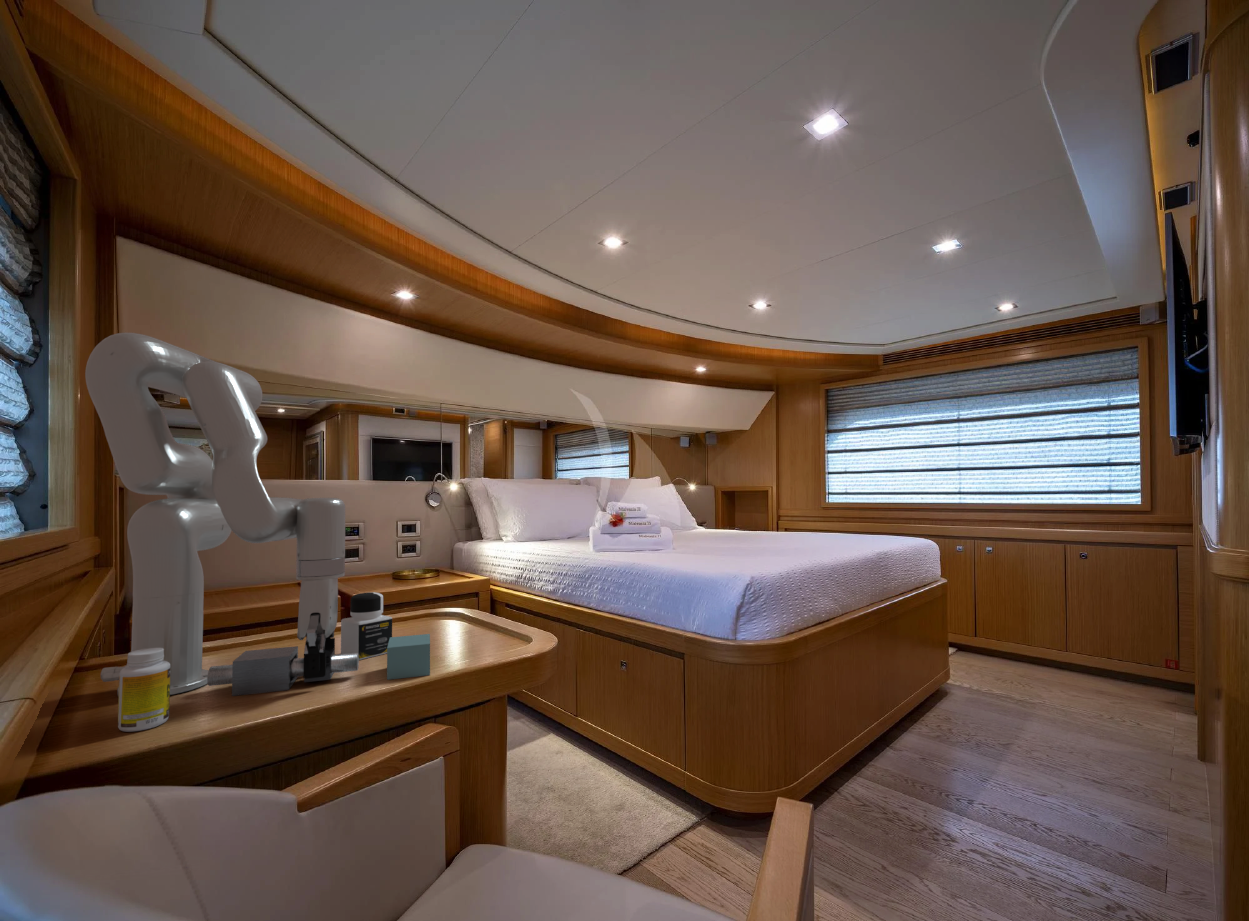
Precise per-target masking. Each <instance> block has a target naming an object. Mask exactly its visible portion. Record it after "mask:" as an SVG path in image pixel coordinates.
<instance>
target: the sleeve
mask: <svg viewBox="0 0 1249 921" xmlns="http://www.w3.org/2000/svg"><path fill="white" fill-rule="evenodd" d="M295 658H299V646H285V647H276V648H274V647H273V648H263V649H254V650H245V651H244V652H242V653H241V654H240V655H239V656H238V657H236V658H235V659H234V660H233V661H232V665H233V669H232V685H231V697H235V696H247V695H255V694H256V695H257V694H263V693H272V692H280V691H281V692H282V691H289V690H290V689H291V687H292V686H293V685H294V683H295V682H296V681H297V679H298V678H299V677H290V661H291V660H292V659H295Z"/></svg>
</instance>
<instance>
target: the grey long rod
mask: <svg viewBox="0 0 1249 921" xmlns="http://www.w3.org/2000/svg"><path fill="white" fill-rule="evenodd" d="M324 651H326V675H325V676H324V677H318V678H309V679H305V678H304V657H298V658H295V659H292V660H291V661H290V677H298V678H299V677H303V683H310V682H318V681H319V682H320V681H328V680H331V679H332V678H333V676H334V674H336V673H346V672H347V673H348V672H355V671H359V663H360V660H359V653H348V654H341V653H340V654H335V653H336V652H335V651H336V648H335V649H331V650H324ZM232 669H233V664H223V665H213V666H210V667H209V669H208V670H209V671H208V676H207V685H208V687H212V686H221V685H230V684H232Z"/></svg>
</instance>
